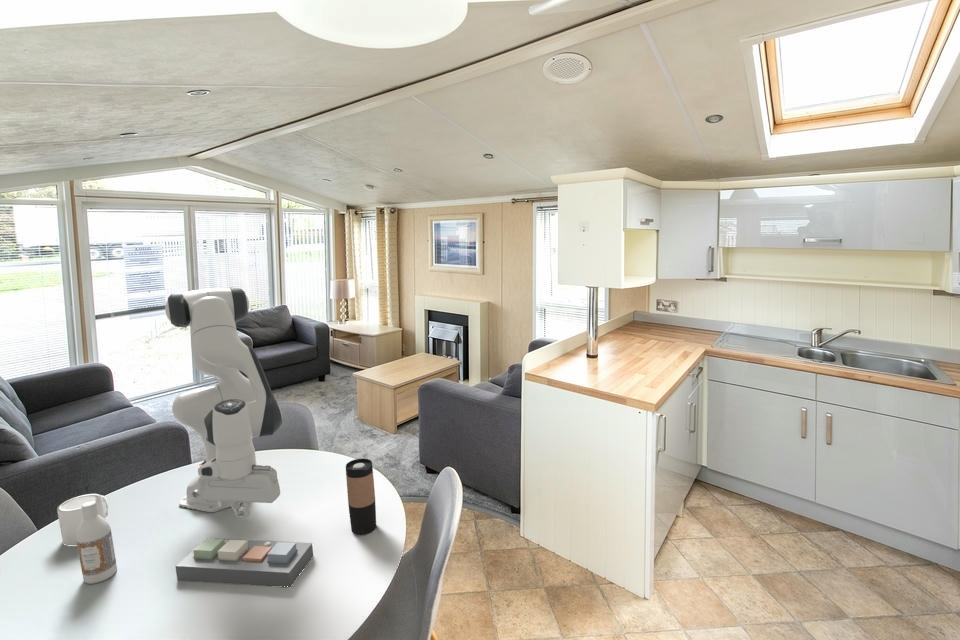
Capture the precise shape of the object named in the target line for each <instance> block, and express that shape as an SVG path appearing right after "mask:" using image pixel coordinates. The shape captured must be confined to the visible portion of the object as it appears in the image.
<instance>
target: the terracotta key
mask: <svg viewBox="0 0 960 640" xmlns="http://www.w3.org/2000/svg"><path fill="white" fill-rule="evenodd" d="M271 549H272V547H267V546H254V547H253V548H252V549H251V550H250V551H249V552H248V553H247V554H246V555H245V556H244V557H243V561H246V562H263V561H264V559H265V558H266V557H267V554H268V553H269V551H270V550H271Z"/></svg>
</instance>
